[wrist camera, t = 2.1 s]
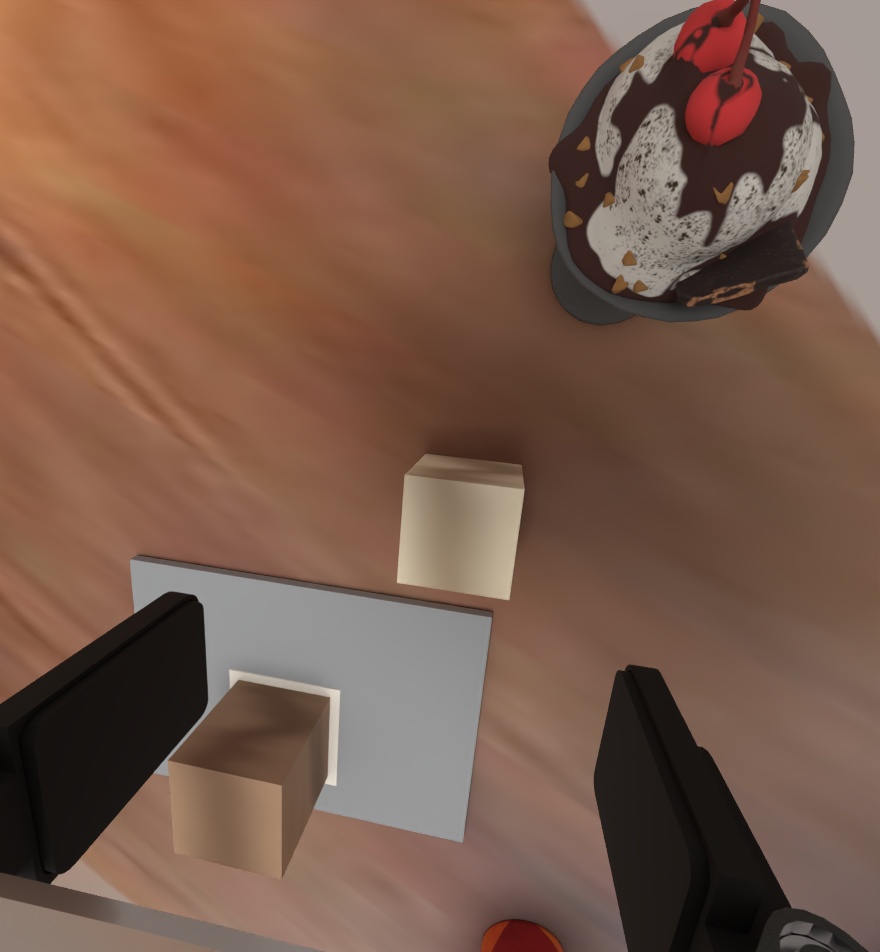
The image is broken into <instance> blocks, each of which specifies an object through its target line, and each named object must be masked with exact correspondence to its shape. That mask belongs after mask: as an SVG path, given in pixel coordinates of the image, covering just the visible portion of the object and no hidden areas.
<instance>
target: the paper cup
mask: <svg viewBox="0 0 880 952" xmlns="http://www.w3.org/2000/svg"><path fill="white" fill-rule="evenodd" d="M481 952H563V949H562V946H561V944H560V942H559V941H558V940H557V938H556V937H555V936H554V935H553V934H552V933H551V932H549V931H548V930H546V929H545V928H543V927H541V926H539V925H537V924H534V923H531V922H528V921H523V920H507V921H502V922H499V923H497V924H495V925H493V926H491V927H490V928H489V929H488V930H487V931H486V933H485V934H484V937H483V940H482V946H481Z"/></svg>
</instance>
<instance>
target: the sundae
mask: <svg viewBox="0 0 880 952" xmlns="http://www.w3.org/2000/svg"><path fill="white" fill-rule="evenodd" d="M760 1H761V0H750V2H749V0H736V1H734V0H713V1H710V2H707V3H704V4H702V5H701V6H700V7H696V8H692V9H689V10H687V11H684V12H682V13H679V14H677V15H675V16H672V17H669V18H667V19H664V20H663V21H661V22H659V23H658V24H656V25H654V26H653V27H651V28H650V29H648V30H646V31H645V32H643V33H641V34H640V35H638V36H637V37H635V38H634V39H633V40H631V41H630V42H629V43H627V44H626V45H625V46H623V47H622V48H620V49H619V50H618V51H617V52H616V53H614V54H613V55H612V56H611V57H610V58H609V59H608V60H607V61H606V62H604V63H603V64H602V65H601V66H600V67H599V68H598V69H597V71H596V72H595V73H594V74H593V76H592V77H591V78H590V80H589V81H588V82H587V84H586V85H585V86H584V88H583V89H582V91H581V93H580V94H579V96H578V98H577V99H576V101H575V103H574V104H573V106H572V108H571V109H570V111H569V113H568V115H567V118H566V121H565V124H564V127H563V130H562V133H561V136H560V139H559V142H558V144H557V145H556V146H555V148H554V149H553V150H552V152H551V155H550V157H549V170H550V173H551V216H552V229H553V232H554V236H555V240H556V243H557V246H556V248H555V251H554V254H553V258H552V262H551V281H552V288H553V290H554V293H555V295H556V297H557V299H558V301H559V302H560V304H561V306H562V307H563V308H564V309H565V310H566V311H567V312H568V313H569V314H571V315H572V316H574V317H575V318H577V319H578V320H580V321H583V322H586V323H590V324H596V325H606V324H613V323H618V322H622V321H624V320H626V319H628V318H630V317H632V316H633V315H638V316H642V317H645V318H650V319H656V320H661V321H666V322H687V321H700V320H706V319H713V318H718V317H721V316H723V315H726V314H729V313H731V312H734V311H737V310H752V309H753V308H755V307H757V306H758V305H759V304H760V303H761V302H762V300H763V298H764V296H765V294H766V293H768V292H769V291H770V290H772V289H773V288H775V287H776V286H777V285H779V284H781V283H785V282H789V281H792V280H796V279H798V278H800V277H801V276H802V275H804V274H805V273H806V272H808V268H809V264H808V261H807V259H806V258H807V257H808V255H809V254H810V253H811V252H812V251H813V249H814V248H815V247H816V246H817V245H818V243H819V242H820V241H821V240H822V238H824V236H825V235H826V233H827V232H828V230H829V228H830V226H831V224H832V222H833V220H834V218H835V217H836V215H837V213H838V211H839V209H840V207H841V205H842V203H843V199H844V197H845V194H846V191H847V189H848V186H849V182H850V180H851V177H852V174H853V159H854V135H853V126H852V118H851V115H850V112H849V109H848V106H847V103H846V100H845V98H844V94H843V92H842V89H841V87H840V84H839V82H838V79H837V77H836V74H835V72H834V70H833V68H832V66H831V64H830V62H829V60H828V58H827V56H826V53H825V51H824V49H823V48H822V47H821V46H820V44H819V43H818V42H817V41H816V40H815V38H814V37H813V36H812V35H811V33H810V32H809V31H808V30H807V29H806V28H805V27H803V25H801V24H800V23H799V22H798V21H797V20H795V19H794V18H793V17H792V16H791V15H789V14H788V13H787V12H786V11H783V10H779V9H776V8H773V7H770V6H767V5H764V4H760Z"/></svg>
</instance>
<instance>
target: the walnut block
mask: <svg viewBox="0 0 880 952" xmlns="http://www.w3.org/2000/svg"><path fill="white" fill-rule="evenodd" d="M329 721H330V697H326V696H321V695H316V694H311V693H305V692H300V691H295V690H290V689H285V688H279V687H274V686H269V685H264V684H259V683H253V682H248V681H243V680H238V681H237V682H236V683H235V684H234V685H233V686H232V688H231V689H230V690H229V691H228V692H227V693H226V694H225V696H224V697H223V698H222V699H221V700H220V701H219V702H218V704H217V705H216V706H215V707H214V708H213V709H212V710H211V712H210V713H209V714H208V715H207V716H206V717H205V718H204V720H203V721H202V722H201V723H200V724H199V725H198V726H197V728H196V729H195V730H194V731H193V732H192V733H191V734H190V736H189V737H188V738H187V739H186V740H185V741H184V742H183V744H182V745H181V746H180V747H179V748H178V749H177V750H176V752H175V753H174V754H173V755H172V756H171V757H170V758H169V760H168V772H169V785H170V799H171V812H172V826H173V839H174V853H177V854H181V855H185V856H189V857H193V858H197V859H201V860H205V861H209V862H213V863H217V864H221V865H225V866H229V867H233V868H237V869H241V870H245V871H249V872H253V873H258V874H262V875H266V876H270V877H274V878H278V879H282V877H283V875H284V873H285V871H286V868H287V866H288V864H289V862H290V860H291V857H292V855H293V853H294V851H295V848H296V846H297V844H298V842H299V839H300V837H301V835H302V833H303V831H304V828H305V826H306V824H307V822H308V819H309V817H310V815H311V813H312V810H313V808H314V806H315V804H316V802H317V799H318V797H319V795H320V793H321V790H322V788H323V786H324V784H325V781H326V779H327V777H328V751H329Z"/></svg>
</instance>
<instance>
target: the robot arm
mask: <svg viewBox="0 0 880 952" xmlns="http://www.w3.org/2000/svg"><path fill="white" fill-rule="evenodd" d="M207 704H208V681H207V662H206V642H205V623H204V608H203V605H202V603H200V602H199V601H198V598H197V597H196V596H195V595H192V594H186V593H180V592H174V591H169V592H167V593H165V594H163V595H162V596H160V597H159V598H157V599H156V600H154V601H153V602H151V603H150V604H148V605H147V606H145V607H144V608H142V609H141V610H139V611H138V612H136V613H135V614H133V615H132V616H130V617H129V618H127V619H126V620H124V621H123V622H121V623H120V624H118V625H117V626H116V627H114V628H113V629H111V630H110V631H108V632H107V633H105V634H104V635H102V636H101V637H99V638H98V639H96V640H95V641H93V642H92V643H90V644H89V645H87V646H86V647H84V648H83V649H81V650H80V651H78V652H77V653H75V654H74V655H72V656H71V657H70V658H68V659H67V660H65V661H64V662H62V663H61V664H59V665H58V666H56V667H55V668H53V669H52V670H50V671H49V672H47V673H46V674H44V675H43V676H41V677H40V678H38V679H37V680H35V681H34V682H32V683H31V684H29V685H28V686H26V687H25V688H24V689H22V690H21V691H19V692H18V693H16V694H15V695H13V696H12V697H10V698H9V699H7V700H6V701H4V702H3V703H1V704H0V952H324V951H320V950H316V949H312V948H308V947H304V946H300V945H296V944H292V943H288V942H284V941H280V940H276V939H272V938H268V937H264V936H260V935H256V934H252V933H248V932H244V931H240V930H236V929H232V928H228V927H224V926H220V925H215V924H211V923H207V922H203V921H199V920H195V919H191V918H187V917H183V916H179V915H175V914H171V913H167V912H163V911H159V910H155V909H151V908H147V907H142V906H138V905H134V904H130V903H126V902H122V901H118V900H113V899H109V898H105V897H101V896H97V895H93V894H88V893H84V892H80V891H76V890H72V889H68V888H64V887H59V886H55V885H51V882H52V881H53V880H54V879H55V878H56V877H57V876H58V874H63V873H65V872H66V871H68V870H69V869H70V868H71V867H72V866H73V865H74V864H75V863H76V862H77V861H78V860H79V859H80V858H81V856H82V855H83V854H84V853H85V852H86V851H87V849H88V848H89V847H90V846H91V845H92V844H93V842H94V841H95V840H96V839H97V838H98V837H99V835H100V834H101V833H102V832H103V831H104V830H105V829H106V827H107V826H108V825H109V824H110V823H111V822H112V820H113V819H114V818H115V817H116V816H117V815H118V813H119V812H120V811H121V810H122V809H123V808H124V806H125V805H126V804H127V803H128V802H129V801H130V799H131V798H132V797H133V796H134V795H135V794H136V792H137V791H138V790H139V789H140V788H141V787H142V785H143V784H144V783H145V782H146V781H147V780H148V778H149V777H150V776H151V775H152V774H153V773H154V772H155V770H156V769H157V768H158V767H159V766H160V765H161V763H162V762H163V761H164V760H165V759H166V758H167V756H168V755H169V754H170V753H171V752H172V751H173V749H174V748H175V747H176V746H177V745H178V744H179V742H180V741H181V740H182V739H183V738H184V737H185V735H186V734H187V733H188V732H189V731H190V730H191V728H192V727H193V726H194V725H195V724H196V723H197V722H198V720H199V719H200V718H201V717H202V715H203V714H204V712H205V710H206V707H207ZM594 790H595V796H596V801H597V805H598V810H599V815H600V820H601V824H602V829H603V834H604V839H605V843H606V848H607V853H608V858H609V862H610V867H611V872H612V877H613V881H614V886H615V891H616V896H617V900H618V905H619V910H620V915H621V919H622V924H623V929H624V934H625V938H626V943H627V948H628V952H869V951H868V950H866V949H865V948H864V947H863V946H862V945H860V944H859V943H858V942H857V941H856V940H855V939H853V938H852V937H851V936H850V935H849V934H848V933H846V932H845V931H844V930H842V929H840V928H839V927H837V926H836V925H834V924H832V923H831V922H829V921H828V920H826V919H825V918H823V917H820V916H818V915H815V914H813V913H811V912H808V911H806V910H803V909H795V908H792V907H791V906H790V904H789V902H788V900H787V898H786V896H785V894H784V892H783V890H782V889H781V887H780V885H779V883H778V881H777V879H776V877H775V875H774V873H773V871H772V870H771V868H770V866H769V864H768V862H767V860H766V858H765V856H764V854H763V853H762V851H761V849H760V847H759V845H758V843H757V841H756V839H755V837H754V836H753V834H752V832H751V830H750V828H749V826H748V824H747V822H746V820H745V818H744V817H743V815H742V813H741V811H740V809H739V807H738V805H737V803H736V801H735V800H734V798H733V796H732V794H731V792H730V790H729V788H728V786H727V784H726V783H725V781H724V779H723V777H722V775H721V773H720V771H719V769H718V767H717V765H716V764H715V762H714V760H713V758H712V757H711V755H710V754H709V752H708V751H707V750H706V749H704V748H703V747H699V746H697V744H696V742H695V740H694V738H693V736H692V734H691V732H690V730H689V728H688V726H687V724H686V722H685V721H684V719H683V717H682V715H681V713H680V711H679V709H678V707H677V705H676V703H675V701H674V699H673V697H672V695H671V693H670V691H669V689H668V687H667V685H666V683H665V681H664V679H663V677H662V675H661V673H660V672H659V670H657V669H654V668H648V667H642V666H635V665H627V667H626V669H625V671H621V670H618V671H617V673H616V676H615V680H614V684H613V689H612V694H611V698H610V703H609V707H608V712H607V717H606V721H605V726H604V730H603V735H602V739H601V744H600V749H599V753H598V758H597V762H596V767H595V772H594Z"/></svg>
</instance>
